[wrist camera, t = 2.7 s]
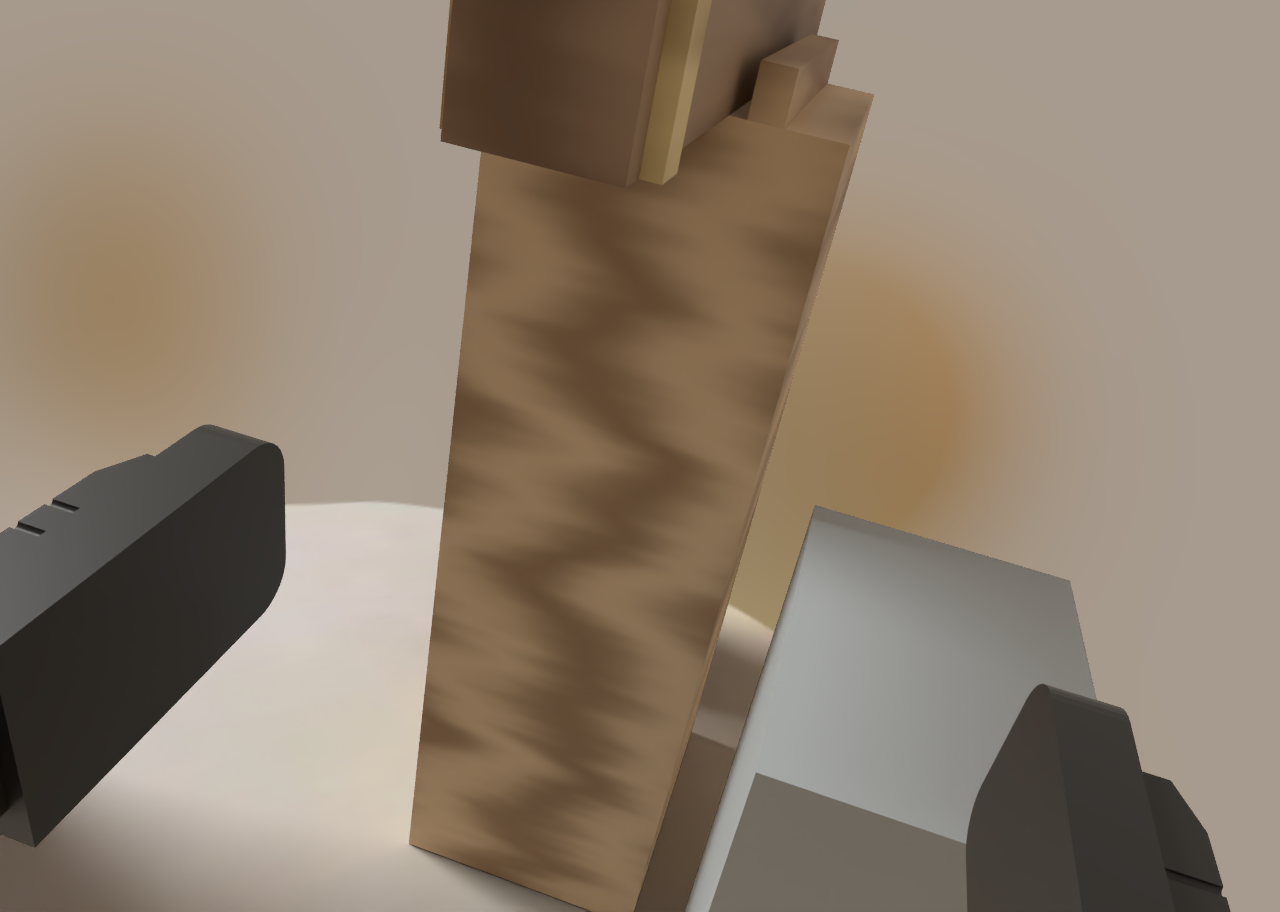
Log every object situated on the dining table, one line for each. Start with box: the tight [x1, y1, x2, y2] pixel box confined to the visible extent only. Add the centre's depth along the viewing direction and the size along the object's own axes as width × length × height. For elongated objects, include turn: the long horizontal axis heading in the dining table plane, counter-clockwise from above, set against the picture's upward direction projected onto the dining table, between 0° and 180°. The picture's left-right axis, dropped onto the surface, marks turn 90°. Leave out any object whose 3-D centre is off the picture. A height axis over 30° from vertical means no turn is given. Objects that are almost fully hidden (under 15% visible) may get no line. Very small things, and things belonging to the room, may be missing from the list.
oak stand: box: [409, 34, 874, 912], centre depth 38 cm, size 10×12×34 cm
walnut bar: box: [440, 0, 826, 188], centre depth 29 cm, size 4×30×4 cm, turn 164°
